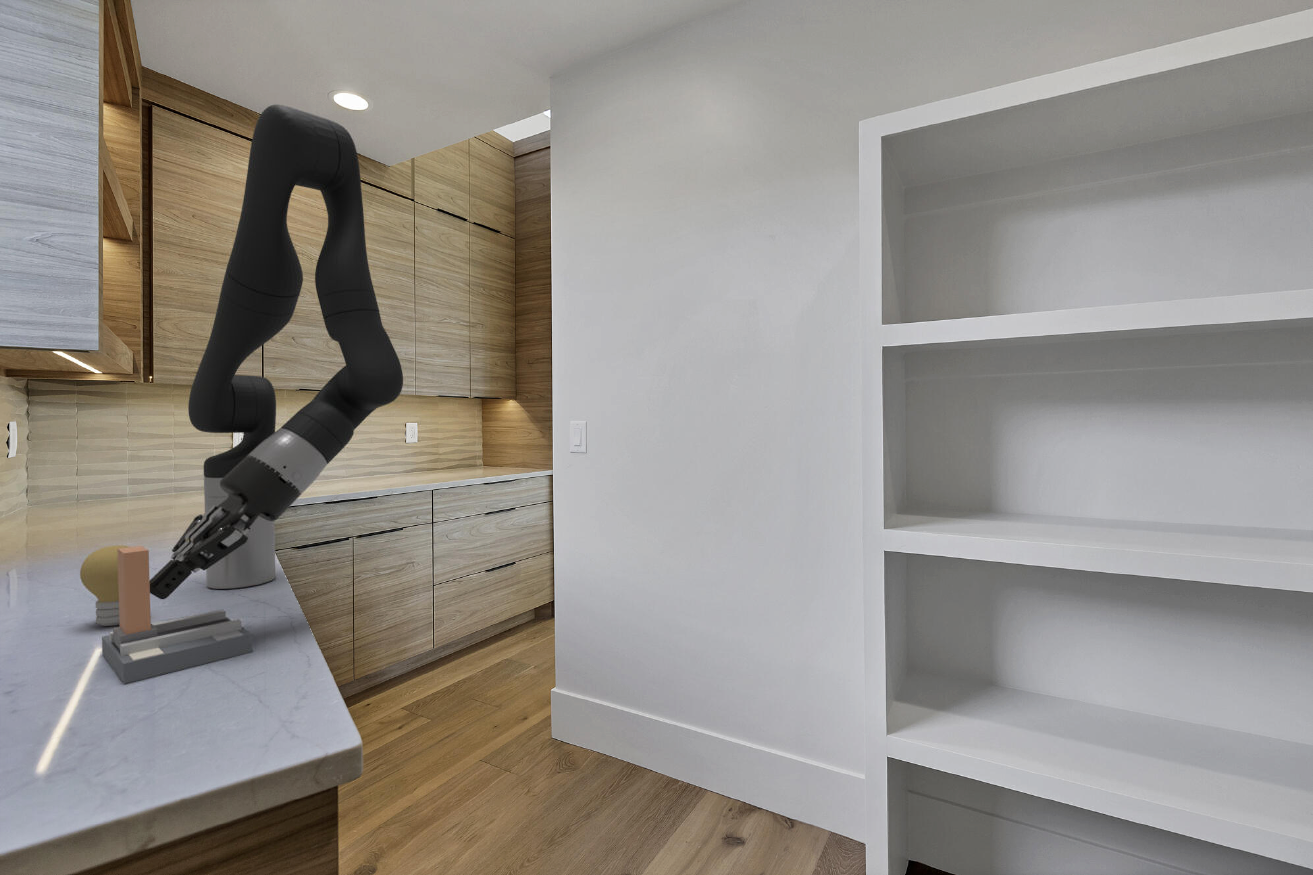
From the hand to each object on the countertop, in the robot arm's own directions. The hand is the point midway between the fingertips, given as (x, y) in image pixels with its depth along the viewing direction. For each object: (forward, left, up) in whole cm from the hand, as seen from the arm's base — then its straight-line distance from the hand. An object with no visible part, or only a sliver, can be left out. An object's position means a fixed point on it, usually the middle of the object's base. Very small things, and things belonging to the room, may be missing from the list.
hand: (153, 594), depth 67 cm
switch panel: (0, +2, -7) cm, 7 cm away
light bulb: (-19, 0, -7) cm, 20 cm away
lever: (0, -2, -5) cm, 5 cm away
